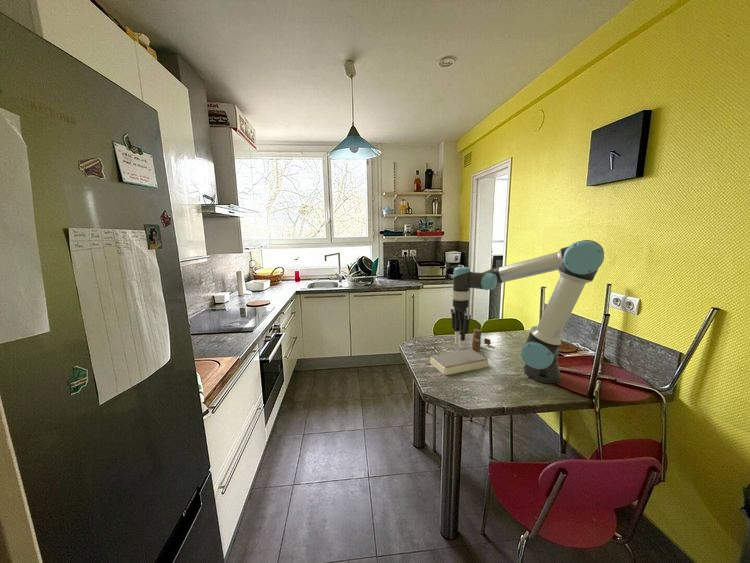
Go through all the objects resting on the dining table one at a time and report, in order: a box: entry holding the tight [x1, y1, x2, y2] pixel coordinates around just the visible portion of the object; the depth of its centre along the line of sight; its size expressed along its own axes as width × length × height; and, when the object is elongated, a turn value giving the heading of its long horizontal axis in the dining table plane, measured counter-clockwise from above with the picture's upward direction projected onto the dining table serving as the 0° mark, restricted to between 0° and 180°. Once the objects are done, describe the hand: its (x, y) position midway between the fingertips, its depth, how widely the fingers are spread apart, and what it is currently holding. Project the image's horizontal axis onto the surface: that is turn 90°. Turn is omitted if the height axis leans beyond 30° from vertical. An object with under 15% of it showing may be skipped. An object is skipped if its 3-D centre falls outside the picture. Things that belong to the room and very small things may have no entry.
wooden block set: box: [471, 328, 492, 353], centre depth 166 cm, size 18×9×10 cm, turn 143°
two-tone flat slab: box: [429, 348, 489, 376], centre depth 147 cm, size 14×25×4 cm, turn 109°
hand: (459, 344), depth 146 cm, fingers open, 3 cm apart
